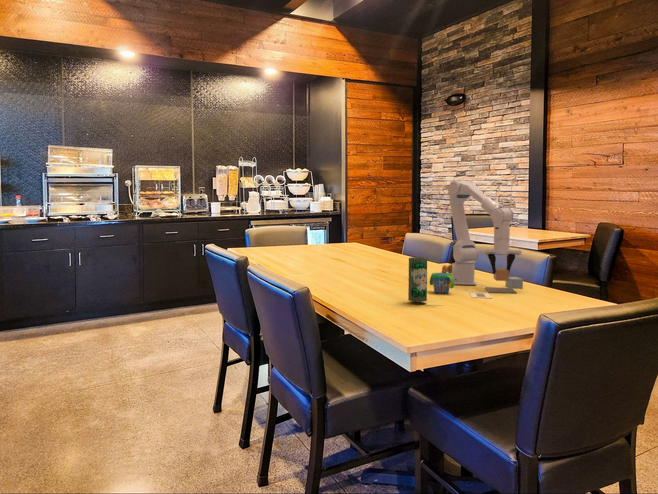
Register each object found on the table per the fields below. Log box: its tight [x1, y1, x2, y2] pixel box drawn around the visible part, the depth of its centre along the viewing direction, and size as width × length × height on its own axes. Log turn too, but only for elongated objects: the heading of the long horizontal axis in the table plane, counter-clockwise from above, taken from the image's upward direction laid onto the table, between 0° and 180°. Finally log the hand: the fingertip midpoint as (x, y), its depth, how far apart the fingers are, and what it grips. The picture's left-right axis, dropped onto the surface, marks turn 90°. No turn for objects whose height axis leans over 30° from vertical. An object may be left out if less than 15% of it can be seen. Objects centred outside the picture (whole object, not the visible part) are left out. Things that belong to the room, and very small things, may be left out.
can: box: [407, 256, 428, 303], centre depth 175 cm, size 6×6×15 cm
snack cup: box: [429, 272, 455, 295], centre depth 190 cm, size 11×8×7 cm
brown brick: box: [493, 267, 510, 282], centre depth 193 cm, size 4×7×4 cm, turn 170°
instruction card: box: [469, 292, 493, 299], centre depth 184 cm, size 7×10×1 cm
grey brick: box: [505, 276, 524, 290], centre depth 203 cm, size 4×7×4 cm, turn 179°
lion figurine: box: [441, 263, 452, 274], centre depth 234 cm, size 12×4×7 cm, turn 33°
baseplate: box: [485, 286, 517, 295], centre depth 194 cm, size 10×10×1 cm
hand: (500, 273), depth 194 cm, fingers closed on brown brick, 4 cm apart
